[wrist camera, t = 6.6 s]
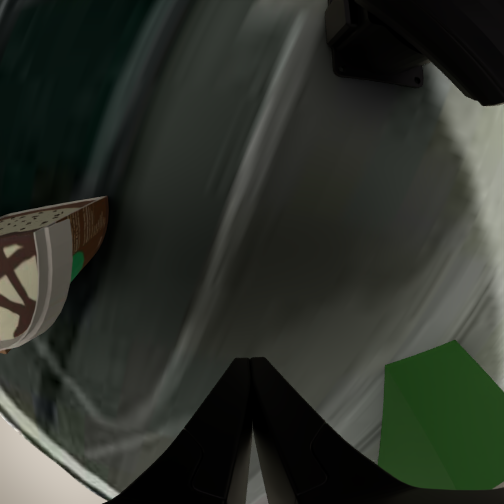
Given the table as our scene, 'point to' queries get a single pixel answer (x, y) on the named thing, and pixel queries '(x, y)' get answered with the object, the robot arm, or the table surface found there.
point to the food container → (44, 263)
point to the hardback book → (442, 422)
